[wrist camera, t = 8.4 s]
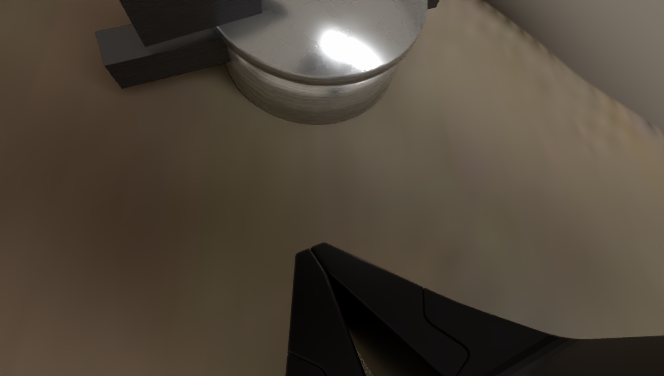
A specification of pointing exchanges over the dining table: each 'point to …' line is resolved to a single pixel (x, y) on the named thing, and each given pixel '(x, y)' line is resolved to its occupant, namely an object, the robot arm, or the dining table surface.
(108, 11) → the dining table surface
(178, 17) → the lid
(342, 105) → the pot
